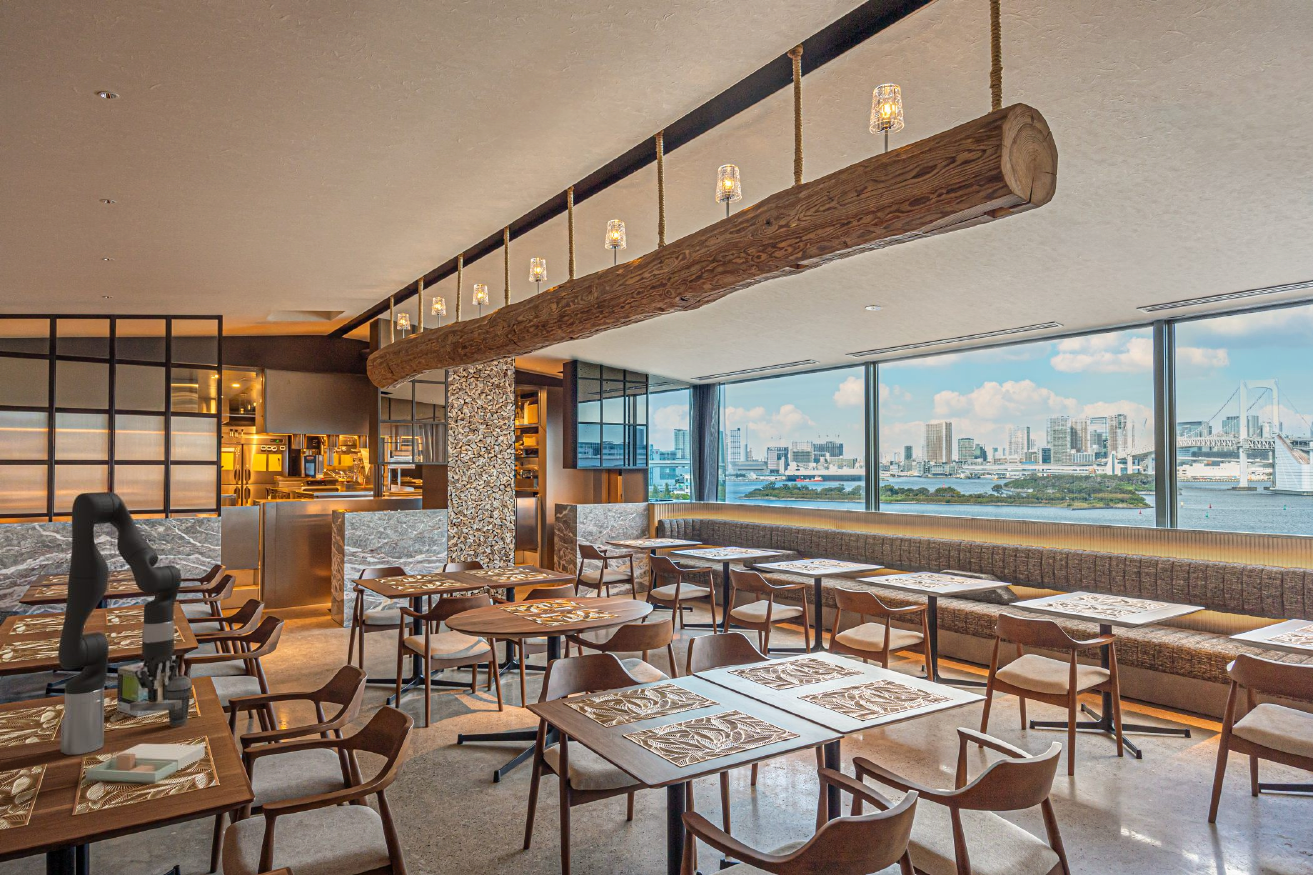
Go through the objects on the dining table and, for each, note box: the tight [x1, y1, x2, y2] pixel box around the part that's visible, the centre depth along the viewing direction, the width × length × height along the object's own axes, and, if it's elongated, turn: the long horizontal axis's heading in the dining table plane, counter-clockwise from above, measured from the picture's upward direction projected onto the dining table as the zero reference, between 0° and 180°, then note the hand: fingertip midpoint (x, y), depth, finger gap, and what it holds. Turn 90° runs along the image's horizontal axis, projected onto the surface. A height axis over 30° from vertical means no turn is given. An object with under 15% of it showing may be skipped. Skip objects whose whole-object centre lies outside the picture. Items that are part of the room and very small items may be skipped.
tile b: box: [130, 765, 154, 772], centre depth 198 cm, size 4×4×2 cm
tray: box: [85, 758, 178, 784], centre depth 199 cm, size 20×8×2 cm, turn 83°
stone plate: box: [110, 743, 206, 771], centre depth 208 cm, size 20×10×3 cm, turn 83°
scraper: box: [130, 674, 182, 712], centre depth 210 cm, size 14×2×10 cm, turn 82°
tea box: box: [116, 662, 168, 718], centre depth 255 cm, size 15×10×15 cm
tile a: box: [116, 753, 135, 771], centre depth 202 cm, size 4×4×2 cm
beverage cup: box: [167, 667, 193, 728], centre depth 240 cm, size 7×7×20 cm
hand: (157, 699), depth 210 cm, fingers closed on scraper, 2 cm apart
